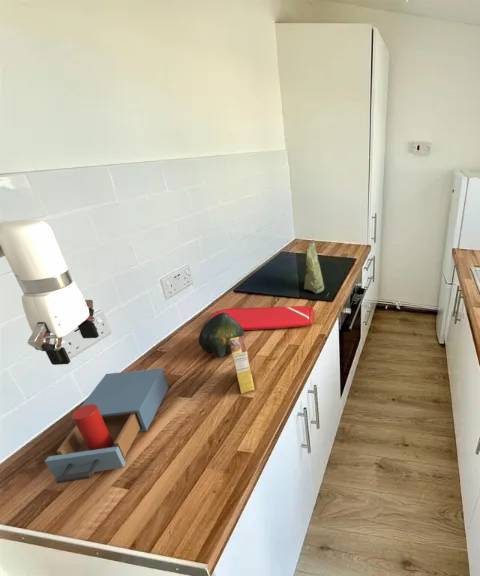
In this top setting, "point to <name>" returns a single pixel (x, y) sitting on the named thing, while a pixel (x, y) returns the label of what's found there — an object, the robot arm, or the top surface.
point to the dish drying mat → (270, 317)
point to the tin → (92, 427)
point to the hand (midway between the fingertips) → (77, 349)
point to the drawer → (82, 462)
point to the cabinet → (130, 394)
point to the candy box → (241, 364)
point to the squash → (219, 334)
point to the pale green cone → (313, 270)
